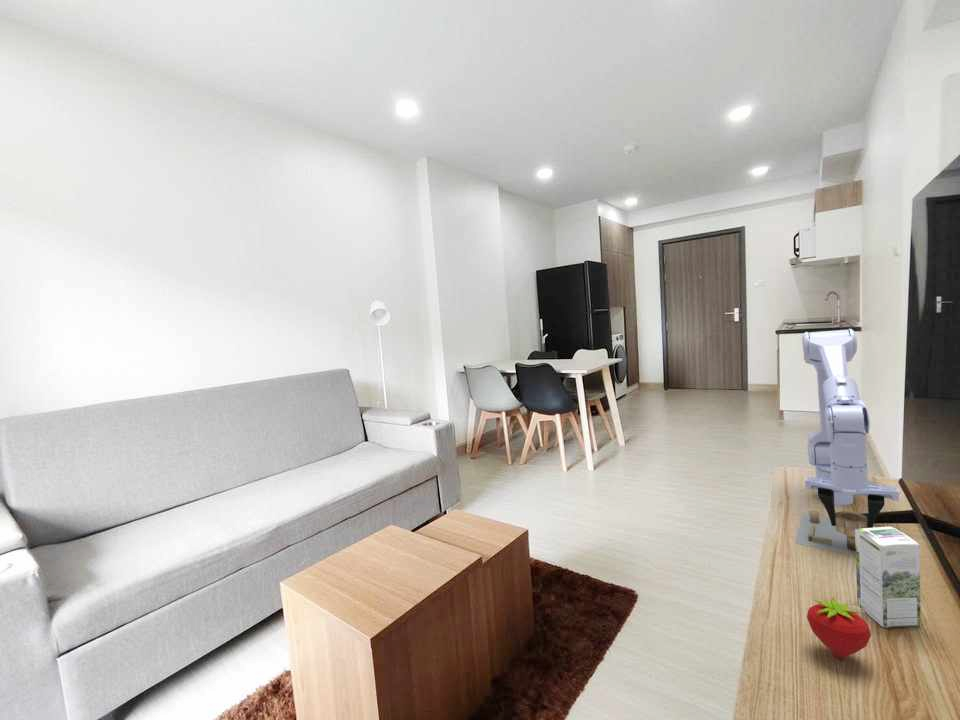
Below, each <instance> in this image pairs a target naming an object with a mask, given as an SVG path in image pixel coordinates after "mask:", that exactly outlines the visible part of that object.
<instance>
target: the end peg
mask: <svg viewBox="0 0 960 720" xmlns="http://www.w3.org/2000/svg"><path fill="white" fill-rule="evenodd" d="M846 537H847V549H849V550H852V551H856V545H855V537H852V536H846Z"/></svg>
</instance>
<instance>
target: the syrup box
mask: <svg viewBox="0 0 960 720" xmlns="http://www.w3.org/2000/svg"><path fill="white" fill-rule="evenodd" d="M855 545H856V555H855V569H856V571H855V572H856V601H857V604H858V605H860V606H859V608H860V609H861V610H862V611H863V612H864V613H866V614H867V615H868V616H869V617H870V618H872V619H873V621H875V622H876V623H877V624H878V625H880V627H882V628H883V629H889V628H909V627H910V628H911V627H920V626H921V620H922V619H921V616H922V615H921V546H920V545H921V544H919V543H918V542H917V541H915V540H914V539H913V538H911V537H910V536H908V535H907V534H906V533H904V532H902V531H901V530H898V529H897V528H895V527H894V526H893V527H892V526H881V527H880V526H879V527H876V526H875V528H862V529H855Z"/></svg>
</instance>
